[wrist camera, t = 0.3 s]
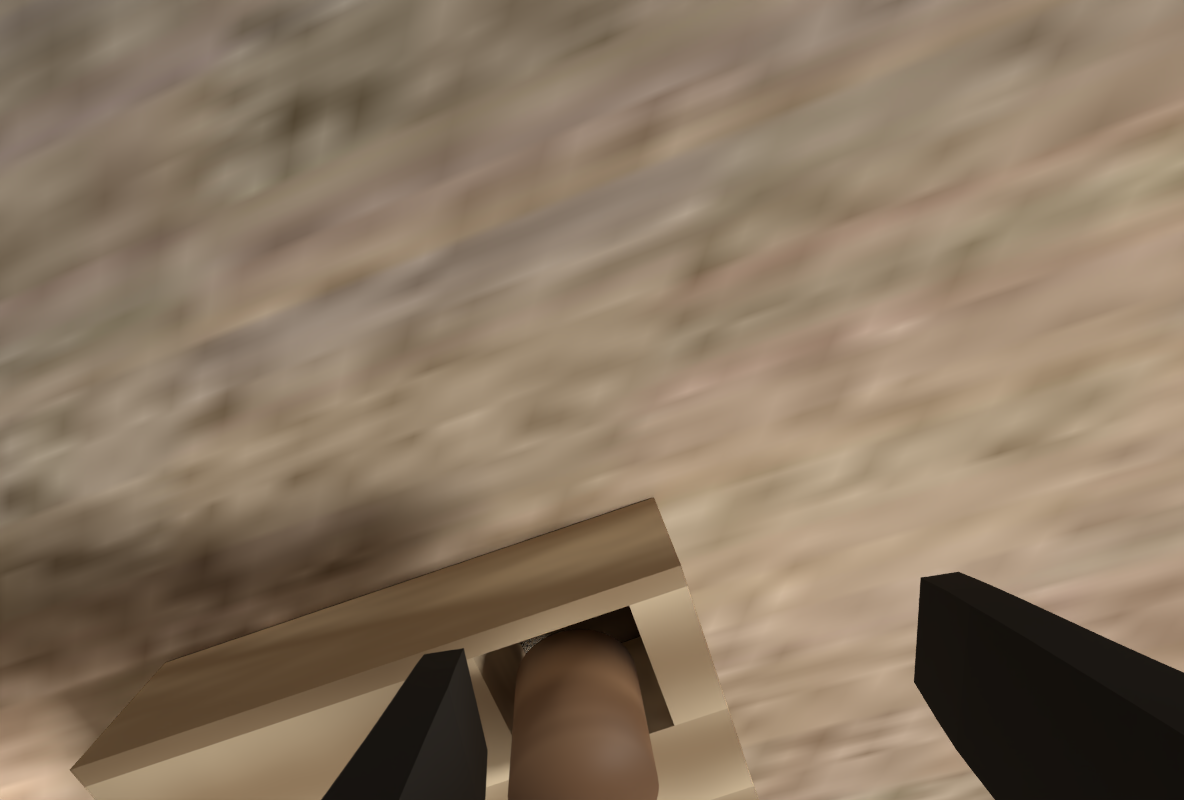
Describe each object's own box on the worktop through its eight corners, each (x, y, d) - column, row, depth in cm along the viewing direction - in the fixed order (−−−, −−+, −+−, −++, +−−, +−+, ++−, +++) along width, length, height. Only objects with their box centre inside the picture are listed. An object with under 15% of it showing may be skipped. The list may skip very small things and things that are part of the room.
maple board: (754, 797, 23) (795, 908, 19) (356, 925, 24) (319, 1059, 20) (653, 497, 19) (681, 565, 15) (164, 662, 19) (69, 770, 15)
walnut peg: (651, 705, 17) (676, 821, 14) (540, 741, 17) (538, 866, 14) (615, 613, 16) (633, 715, 12) (498, 652, 16) (484, 764, 13)
